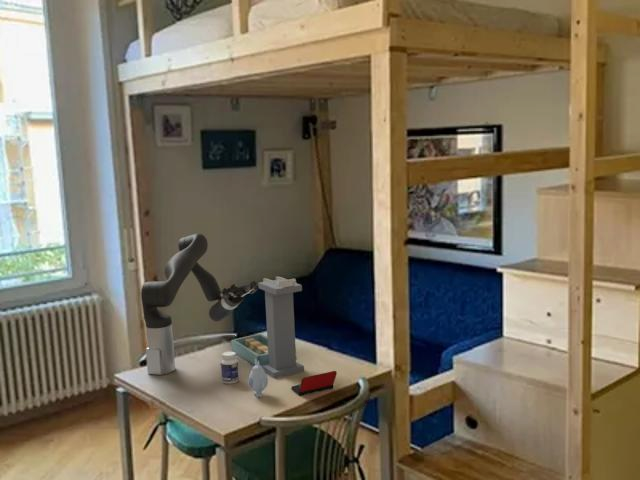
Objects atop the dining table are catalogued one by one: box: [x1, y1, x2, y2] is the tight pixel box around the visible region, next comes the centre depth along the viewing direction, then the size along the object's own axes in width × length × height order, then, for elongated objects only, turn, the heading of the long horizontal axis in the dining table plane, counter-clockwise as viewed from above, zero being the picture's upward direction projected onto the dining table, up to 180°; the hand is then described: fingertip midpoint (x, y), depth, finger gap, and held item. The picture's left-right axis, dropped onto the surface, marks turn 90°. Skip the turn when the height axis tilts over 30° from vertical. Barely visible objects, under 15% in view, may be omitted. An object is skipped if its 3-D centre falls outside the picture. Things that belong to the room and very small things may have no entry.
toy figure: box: [247, 359, 269, 398], centre depth 206 cm, size 11×6×12 cm, turn 26°
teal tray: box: [230, 333, 269, 367], centre depth 245 cm, size 25×13×5 cm, turn 30°
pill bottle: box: [220, 351, 239, 385], centre depth 220 cm, size 6×6×10 cm
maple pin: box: [245, 338, 268, 355], centre depth 246 cm, size 20×3×3 cm, turn 30°
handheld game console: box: [290, 370, 338, 397], centre depth 209 cm, size 12×11×7 cm
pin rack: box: [257, 276, 305, 379], centre depth 225 cm, size 14×12×34 cm
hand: (244, 284), depth 251 cm, fingers open, 8 cm apart
